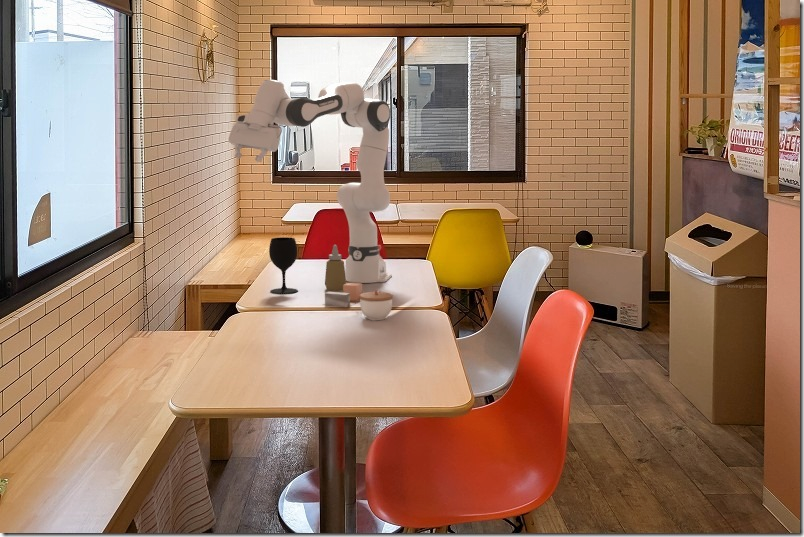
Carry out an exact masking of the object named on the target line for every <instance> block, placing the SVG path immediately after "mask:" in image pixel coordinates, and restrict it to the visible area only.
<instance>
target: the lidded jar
mask: <svg viewBox="0 0 804 537" xmlns="http://www.w3.org/2000/svg"><path fill="white" fill-rule="evenodd" d="M393 298H394V295H393V293H390V292H385V291H379V289H374V291H369V292H362V294H360V302H359V305H360V310H361V312H362V314H363V316H365V317H366V319H367V320H369V321H370V320H371V321H382V320H386V318H387V317H388V316H389V314H390V313H391V311H392V307H393Z"/></svg>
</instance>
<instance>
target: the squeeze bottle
mask: <svg viewBox="0 0 804 537" xmlns="http://www.w3.org/2000/svg"><path fill="white" fill-rule="evenodd" d="M331 250H332V251H331V254H328V260H326V263H325V264H326V266H325V277H324V278H325V279H324V285H325V289H326V290H327V291H328V292H340V291H342V292H343V285H344V284H347V281H346V277H345V260H343V259H342V254H339V250H338V245H337V244H334V245H332V249H331Z"/></svg>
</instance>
